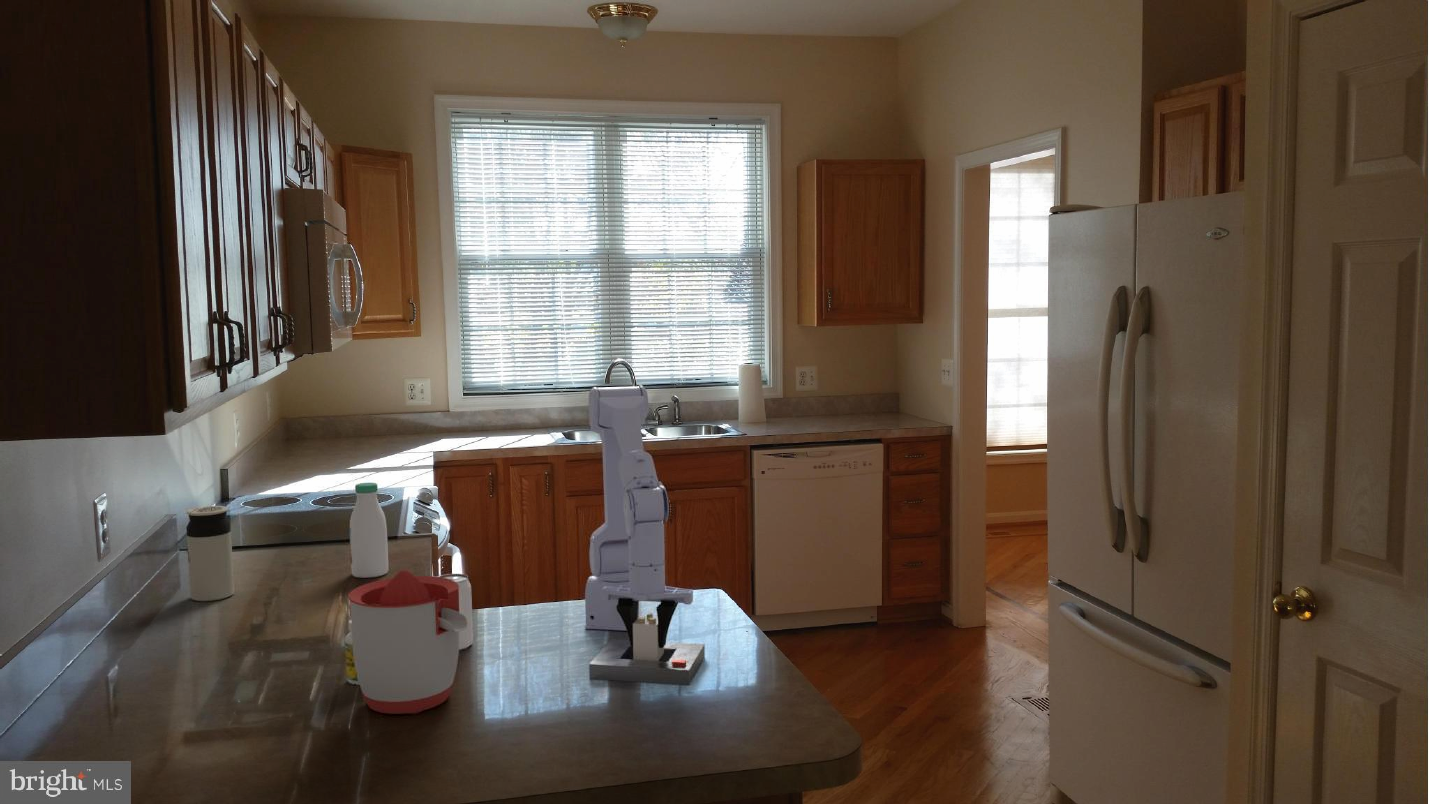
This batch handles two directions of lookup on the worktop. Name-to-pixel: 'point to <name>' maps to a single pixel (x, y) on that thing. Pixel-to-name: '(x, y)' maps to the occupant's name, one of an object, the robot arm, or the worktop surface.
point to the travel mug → (210, 554)
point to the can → (464, 607)
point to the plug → (646, 639)
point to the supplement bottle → (350, 658)
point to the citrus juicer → (406, 641)
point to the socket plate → (648, 663)
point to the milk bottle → (368, 534)
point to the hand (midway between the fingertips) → (648, 645)
